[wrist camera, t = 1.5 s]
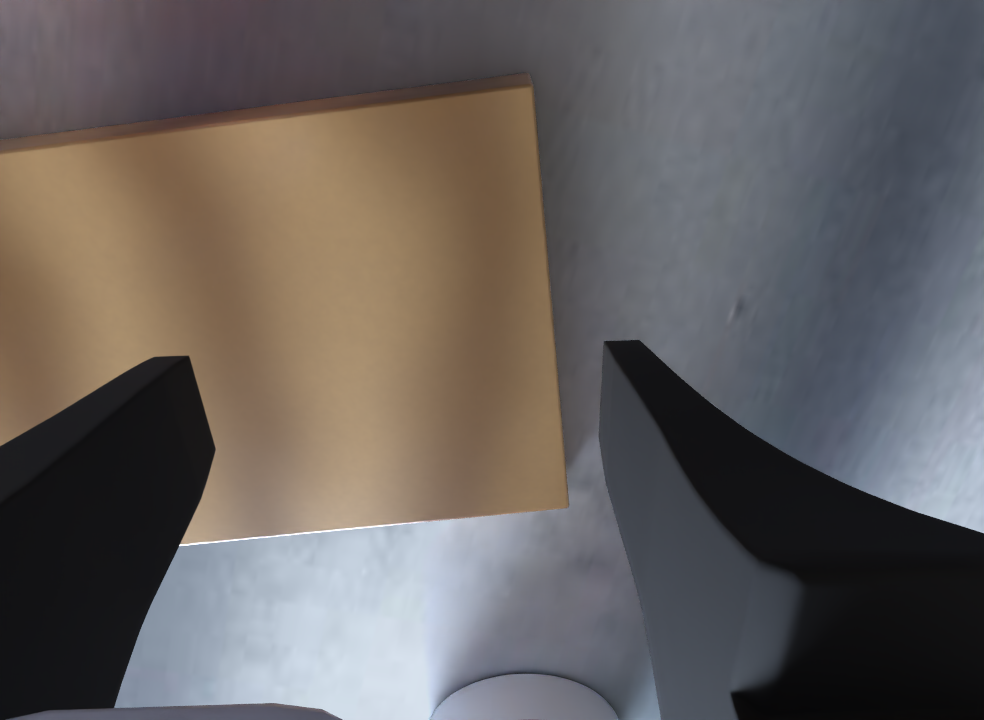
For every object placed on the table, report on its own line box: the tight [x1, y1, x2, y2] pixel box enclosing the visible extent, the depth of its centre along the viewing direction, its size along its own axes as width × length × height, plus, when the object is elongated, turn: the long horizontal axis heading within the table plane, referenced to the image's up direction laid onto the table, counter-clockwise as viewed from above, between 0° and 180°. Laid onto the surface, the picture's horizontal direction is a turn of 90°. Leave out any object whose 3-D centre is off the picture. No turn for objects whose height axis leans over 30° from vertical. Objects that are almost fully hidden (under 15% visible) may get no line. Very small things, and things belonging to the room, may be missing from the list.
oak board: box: [0, 73, 569, 546], centre depth 23 cm, size 20×14×2 cm
